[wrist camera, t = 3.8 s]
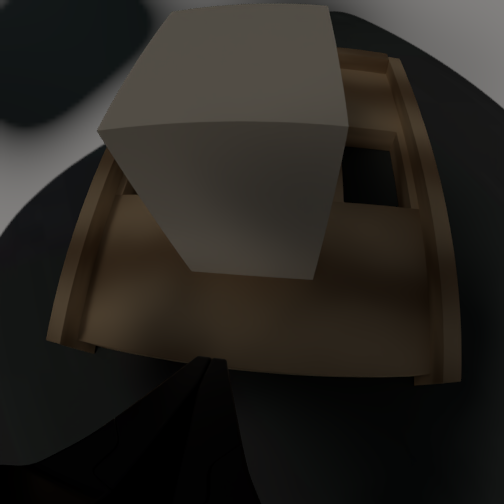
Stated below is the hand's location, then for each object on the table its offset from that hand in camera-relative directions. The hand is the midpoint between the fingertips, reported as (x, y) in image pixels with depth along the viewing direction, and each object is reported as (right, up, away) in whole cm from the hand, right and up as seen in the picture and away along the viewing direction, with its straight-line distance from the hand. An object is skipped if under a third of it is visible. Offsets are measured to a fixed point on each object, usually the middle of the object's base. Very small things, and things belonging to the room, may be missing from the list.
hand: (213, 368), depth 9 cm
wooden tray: (+2, +7, +11) cm, 14 cm away
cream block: (+1, +5, +8) cm, 10 cm away
